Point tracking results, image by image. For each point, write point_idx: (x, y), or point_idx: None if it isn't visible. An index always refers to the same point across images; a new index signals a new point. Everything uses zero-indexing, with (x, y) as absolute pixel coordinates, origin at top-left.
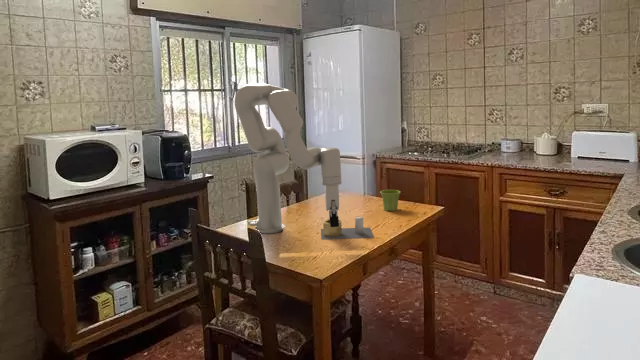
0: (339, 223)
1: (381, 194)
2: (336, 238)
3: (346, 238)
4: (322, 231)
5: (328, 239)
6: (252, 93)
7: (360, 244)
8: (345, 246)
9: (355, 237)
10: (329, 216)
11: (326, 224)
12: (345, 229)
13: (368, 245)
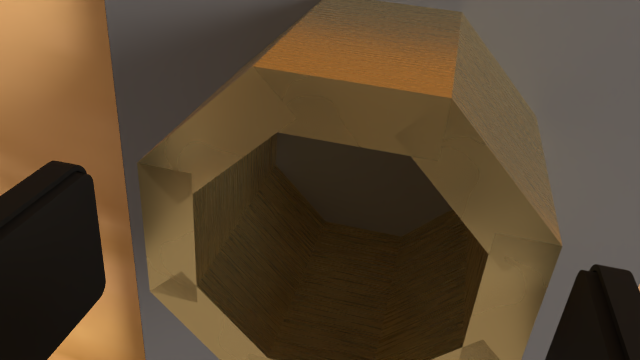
0: (217, 341)
1: None
2: (144, 147)
3: (141, 252)
4: (570, 5)
5: (110, 33)
6: None
7: None
8: (5, 178)
9: (174, 338)
10: (621, 324)
11: (193, 115)
12: (534, 349)
13: (51, 355)
